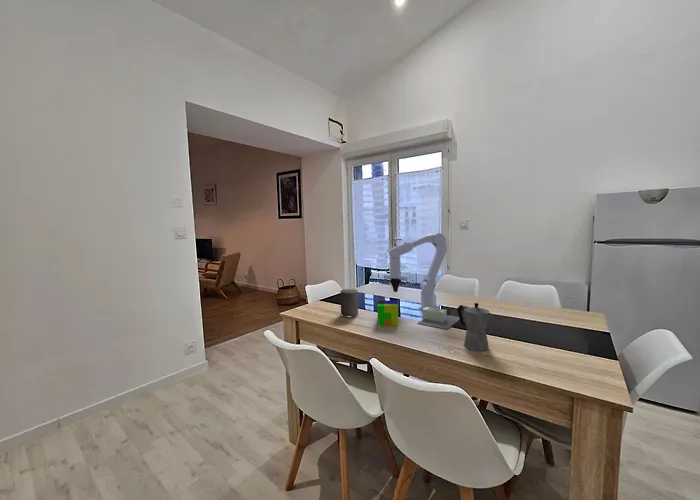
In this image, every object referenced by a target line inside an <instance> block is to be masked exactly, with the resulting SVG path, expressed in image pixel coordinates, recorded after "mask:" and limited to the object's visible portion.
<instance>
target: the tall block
mask: <svg viewBox="0 0 700 500" xmlns="http://www.w3.org/2000/svg"><path fill="white" fill-rule="evenodd" d="M447 313H448V312H447V309H442V308H437V307H436V308H430V307H425V308H423V309H421V319H422V320H423V319H427V320H432V321H437V322H444V321H446V320H447V315H448V314H447Z"/></svg>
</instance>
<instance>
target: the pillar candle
mask: <svg viewBox="0 0 700 500" xmlns="http://www.w3.org/2000/svg"><path fill="white" fill-rule="evenodd" d="M358 296H359V290H357V289H356V288H355V289H354V288H344V289H341V290H340V315H341V314H342V315H343V316H356V315H358V316H359V297H358ZM356 317H357V316H356Z"/></svg>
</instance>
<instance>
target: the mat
mask: <svg viewBox="0 0 700 500" xmlns="http://www.w3.org/2000/svg"><path fill="white" fill-rule="evenodd" d="M458 322H460V319H459V316H454V315H449V314H447V320H446V321H444V322H437V321H432V320H427V319H422V320H420V321H418V322H417V325H422V326H426V327H432V328H435V329H441V330H445V331H446V330H449V329H450V328H452V327H453V326H454V325H455V324H457V323H458Z"/></svg>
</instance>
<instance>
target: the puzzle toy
mask: <svg viewBox="0 0 700 500" xmlns="http://www.w3.org/2000/svg"><path fill="white" fill-rule="evenodd" d="M376 308H377V326H378V325H380V326H383V327H384V326H386V327H388V326H390V327H391V326H392V327H393V326H399V303H398V301H397V300H377V307H376Z"/></svg>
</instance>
